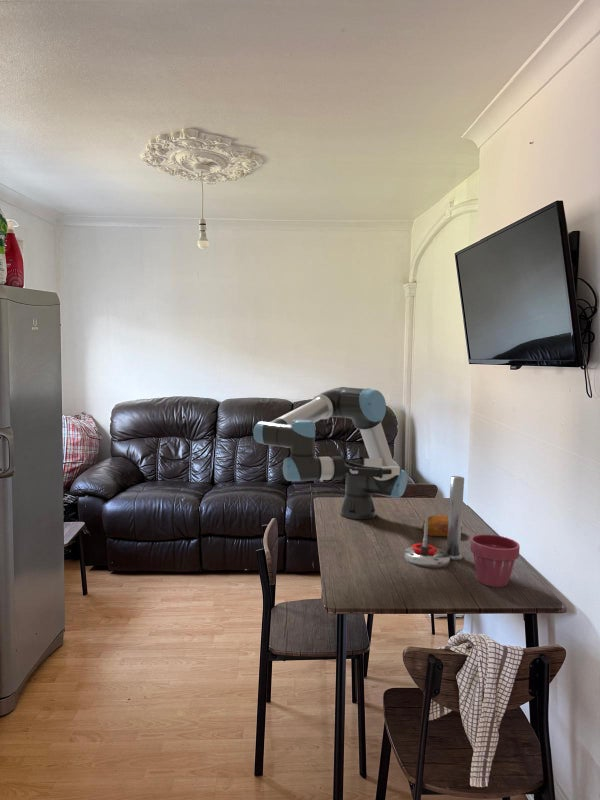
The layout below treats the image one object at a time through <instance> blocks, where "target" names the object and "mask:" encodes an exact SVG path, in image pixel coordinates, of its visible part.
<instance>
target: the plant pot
mask: <svg viewBox="0 0 600 800" xmlns="http://www.w3.org/2000/svg"><path fill="white" fill-rule="evenodd" d="M520 546H521V545H520V544H519V542H518V541H515V540H514V539H512V538H509V537H504V536H503V535H502V536H501V535H495V534H485V533H484V534H477V535H476V534H475V535H473V536H472V537H471V538H470V547H469V548H470V549H469V550H470V552H471V553H473V561H474V568H475V569H474V570H475V572H476V579H477V581H478V582H479V583H480V584H483V585H485V586H489V587H492V588H493V587H494V588H503V587H506V586H508V584H509V580H510V577H511V575H512V572H513V569H514V566H515V562H516V560H518V558H519V557H520Z"/></svg>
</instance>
